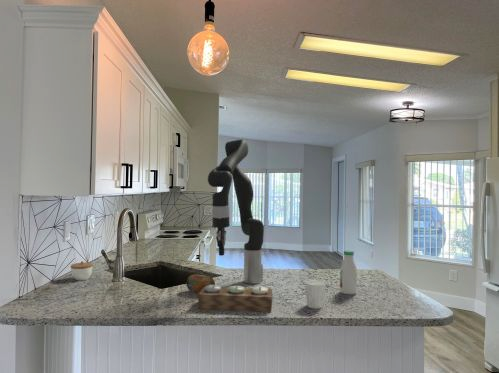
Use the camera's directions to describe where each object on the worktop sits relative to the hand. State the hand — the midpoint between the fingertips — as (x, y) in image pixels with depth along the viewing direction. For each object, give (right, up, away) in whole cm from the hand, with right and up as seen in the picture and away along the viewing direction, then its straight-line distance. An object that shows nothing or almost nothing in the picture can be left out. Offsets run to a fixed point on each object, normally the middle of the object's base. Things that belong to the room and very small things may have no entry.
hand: (221, 255), depth 162 cm
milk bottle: (+60, -21, +14) cm, 65 cm away
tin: (-11, -20, +11) cm, 25 cm away
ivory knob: (+17, -18, -8) cm, 26 cm away
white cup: (+40, -21, -6) cm, 46 cm away
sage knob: (+7, -18, -7) cm, 20 cm away
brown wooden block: (+7, -20, -7) cm, 22 cm away
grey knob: (-3, -18, -6) cm, 19 cm away
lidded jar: (-77, -19, +34) cm, 87 cm away
